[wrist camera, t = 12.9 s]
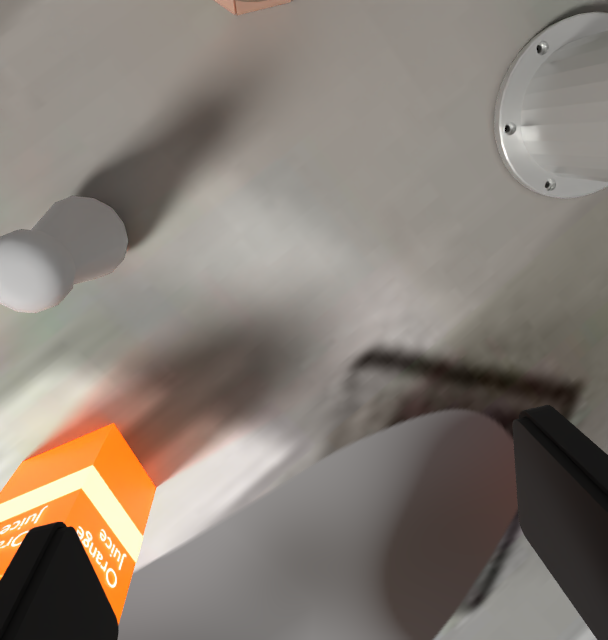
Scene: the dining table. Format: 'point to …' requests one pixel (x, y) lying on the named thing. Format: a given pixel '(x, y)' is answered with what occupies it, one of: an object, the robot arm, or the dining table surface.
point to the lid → (250, 0)
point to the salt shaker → (60, 253)
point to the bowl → (249, 5)
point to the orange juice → (83, 504)
